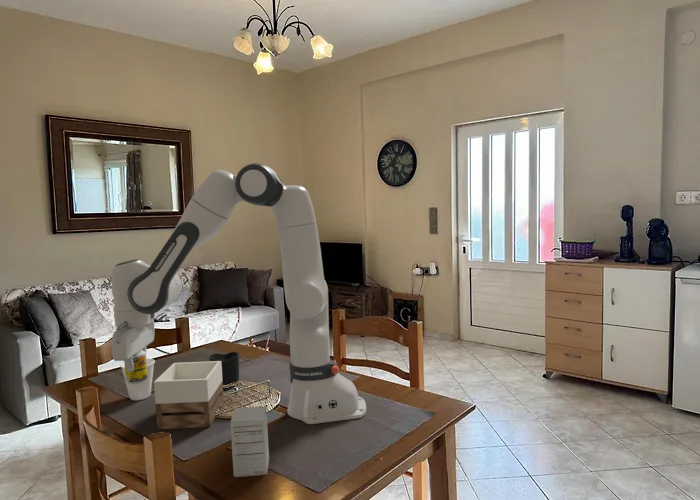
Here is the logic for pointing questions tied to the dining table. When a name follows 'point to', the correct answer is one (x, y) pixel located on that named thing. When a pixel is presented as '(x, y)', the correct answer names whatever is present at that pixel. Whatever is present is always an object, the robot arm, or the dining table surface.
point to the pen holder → (228, 366)
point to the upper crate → (188, 382)
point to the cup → (143, 388)
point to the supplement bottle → (137, 369)
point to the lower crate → (189, 412)
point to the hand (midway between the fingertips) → (136, 366)
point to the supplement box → (250, 441)
